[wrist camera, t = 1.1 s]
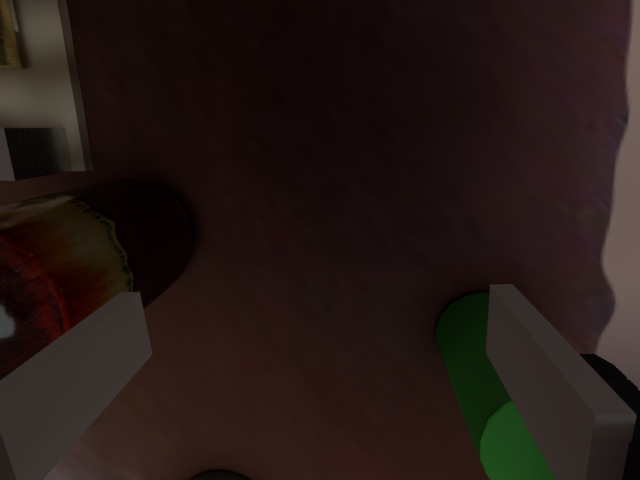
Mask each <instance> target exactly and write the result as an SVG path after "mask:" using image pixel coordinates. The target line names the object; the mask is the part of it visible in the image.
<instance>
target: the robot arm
mask: <svg viewBox="0 0 640 480" xmlns="http://www.w3.org/2000/svg"><path fill="white" fill-rule="evenodd" d="M486 354H487V356H488V358H489V360H490V361H491V363H492V365H493V367H494V369H495V370H496V372H497V374H498V376H499V378H500V379H501V381H502V383H503V385H504V387H505V388H506V390H507V392H508V394H509V396H510V397H511V399H512V401H513V403H514V405H515V406H516V408H517V410H518V412H519V414H520V415H521V417H522V419H523V421H524V423H525V424H526V426H527V428H528V430H529V432H530V433H531V435H532V437H533V439H534V441H535V443H536V444H537V446H538V448H539V450H540V452H541V453H542V455H543V457H544V459H545V461H546V462H547V464H548V466H549V468H550V470H551V471H552V473H553V475H554V477H555V479H556V480H640V391H639V390H638V388H637V387H636V386H635V385H634V384H633V383H632V382H631V381H630V380H627V377H626V376H625V375H624V374H623V373H622V372H621V371H619V369H617V368H616V367H615V366H614V365H613V364H611V363H609V362H608V361H606V360H604V359H602V358H601V357H599V356H597V355H595V354H578V353H577V352H576V351H575V349H574V348H573V347H572V346H571V345H570V344H569V343H568V342H567V341H566V340H565V339H564V338H563V337H562V336H561V335H560V334H559V333H558V332H557V331H556V329H555V328H554V327H553V326H552V325H551V324H550V323H549V322H548V321H547V320H546V319H545V318H544V317H543V316H542V315H541V314H540V313H539V312H538V311H537V309H536V308H535V307H534V306H533V305H532V304H531V303H530V302H529V301H528V300H527V299H526V298H525V297H524V296H523V295H522V294H521V293H520V292H519V291H518V289H517V288H516V287H515V286H514V285H513V284H498V285H490V293H489V310H488V326H487V342H486ZM151 355H152V350H151V345H150V340H149V335H148V330H147V325H146V320H145V315H144V310H143V305H142V300H141V295H140V292H121V293H120V294H118V295H117V296H115V297H114V298H113V299H111V300H110V301H109V302H107V303H106V304H104V305H103V306H102V307H100V308H99V309H98V310H96V311H95V312H94V313H92V314H91V315H89V316H88V317H87V318H85V319H84V320H83V321H81V322H80V323H78V324H77V325H76V326H74V327H73V328H72V329H70V330H69V331H67V332H66V333H65V334H63V335H62V336H61V337H59V338H58V339H56V340H55V341H54V342H52V343H51V344H50V345H48V346H47V347H46V348H44V349H43V350H41V351H40V352H39V353H37V354H36V355H35V356H33V357H32V358H30V359H29V360H28V361H26V362H25V363H23V364H21V365H19V366H17V367H15V368H14V369H13V370H11V371H10V372H8V373H7V374H6V375H4V376H3V377H1V380H0V480H43V479H44V478H45V476H46V475H47V474H48V473H49V472H50V471H51V470H52V468H53V467H54V466H55V465H56V464H57V463H58V462H59V460H60V459H61V458H62V457H63V456H64V455H65V454H66V452H67V451H68V450H69V449H70V448H71V447H72V446H73V444H74V443H75V442H76V441H77V440H78V439H79V438H80V436H81V435H82V434H83V433H84V432H85V431H86V430H87V428H88V427H89V426H90V425H91V424H92V423H93V422H94V420H95V419H96V418H97V417H98V416H99V415H100V414H101V412H102V411H103V410H104V409H105V408H106V407H107V406H108V404H109V403H110V402H111V401H112V400H113V399H114V398H115V396H116V395H117V394H118V393H119V392H120V391H121V390H122V388H123V387H124V386H125V385H126V384H127V383H128V382H129V380H130V379H131V378H132V377H133V376H134V375H135V374H136V372H137V371H138V370H139V369H140V368H141V367H142V366H143V364H144V363H145V362H146V361H147V360H148V359H149V358H150V356H151Z"/></svg>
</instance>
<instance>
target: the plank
mask: <svg viewBox="0 0 640 480" xmlns="http://www.w3.org/2000/svg"><path fill="white" fill-rule="evenodd" d="M13 4H14V9H15V14H16V20H17V25H18V30H19V32H15V35H16V40H17V45H18V50H19V55H20V60H21V65H22V69H19V70H0V128H65V129H66V135H67V141H68V146H69V152H70V158H71V163H72V169H73V171H90V170H94V169H93V163H92V156H91V150H90V144H89V138H88V132H87V126H86V119H85V113H84V107H83V101H82V95H81V89H80V82H79V76H78V70H77V64H76V58H75V52H74V45H73V39H72V33H71V27H70V21H69V15H68V8H67V2H66V0H13Z"/></svg>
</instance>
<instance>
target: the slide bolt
mask: <svg viewBox="0 0 640 480" xmlns="http://www.w3.org/2000/svg"><path fill="white" fill-rule="evenodd" d="M15 32H19V30H18V25H17V20H16V14H15V9H14V4H13V0H0V70H19V69H22V65H21V60H20V55H19V50H18V45H17V40H16V35H15Z"/></svg>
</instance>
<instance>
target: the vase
mask: <svg viewBox="0 0 640 480" xmlns="http://www.w3.org/2000/svg"><path fill="white" fill-rule="evenodd" d="M193 239H194V231H193V225H192V221H191V218H190V216H189V214H188V212H187V210H186V208H185V207H184V206H183V204H182V203H181V202H180V201H179V200H178V199H177V198H176V197H175V196H173V195H172V194H170V193H169V192H167V191H165V190H163V189H161V188H158V187H156V186H154V185H152V184H149V183H146V182H143V181H139V180H133V179H123V180H117V181H111V182H105V183H100V184H95V185H91V186H86V187H82V188H77V189H73V190H68V191H63V192H59V193H54V194H50V195H45V196H41V197H37V198H32V199H28V200H23V201H19V202H15V203H10V204H6V205H1V206H0V380H1V377H3V376H4V375H6V374H7V373H8V372H10V371H11V370H13V369H14V368H15V367H17V366H19V365H21V364H23V363H25V362H26V361H28V360H29V359H30V358H32V357H33V356H35V355H36V354H37V353H39V352H40V351H41V350H43V349H44V348H46V347H47V346H48V345H50V344H51V343H52V342H54V341H55V340H56V339H58V338H59V337H61V336H62V335H63V334H65V333H66V332H67V331H69V330H70V329H72V328H73V327H74V326H76V325H77V324H78V323H80V322H81V321H83V320H84V319H85V318H87V317H88V316H89V315H91V314H92V313H94V312H95V311H96V310H98V309H99V308H100V307H102V306H103V305H104V304H106V303H107V302H109V301H110V300H111V299H113V298H114V297H115V296H117V295H118V294H120V293H121V292H140V295H141V300H142V305H143V310H144V309H145V308H146V307H147V306H148V305H149V304H151V303H152V302H153V301H154V300H155V299H156V298H157V297H158V296H160V295H161V294H162V293H163V292H164V291H165V290H166V289H168V288H169V287H170V286H171V285H172V284H173V283H174V282H175V281H176V280H177V279H178V278H179V277H180V276H181V275H182V273H183V272H184V270H185V269H186V267H187V265H188V263H189V261H190V257H191V253H192V245H193Z"/></svg>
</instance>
